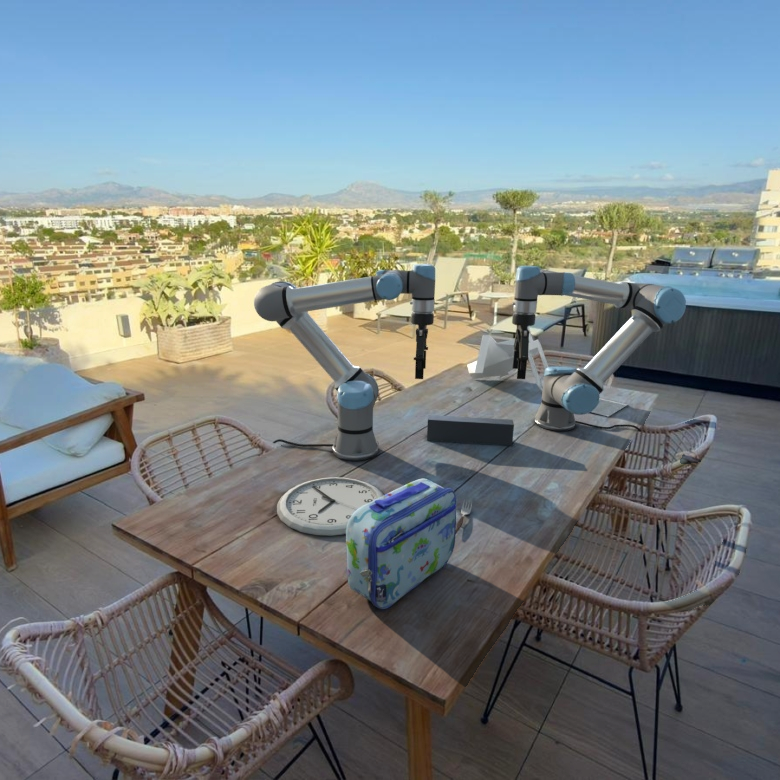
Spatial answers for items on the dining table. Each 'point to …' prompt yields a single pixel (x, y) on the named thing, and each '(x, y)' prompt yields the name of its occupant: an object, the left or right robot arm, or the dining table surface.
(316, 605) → the dining table surface
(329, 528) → the wall clock
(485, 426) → the beam
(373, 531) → the lunch box
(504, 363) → the white plastic object
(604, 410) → the invitation card
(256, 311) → the left robot arm
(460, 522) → the fork
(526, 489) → the dining table surface
